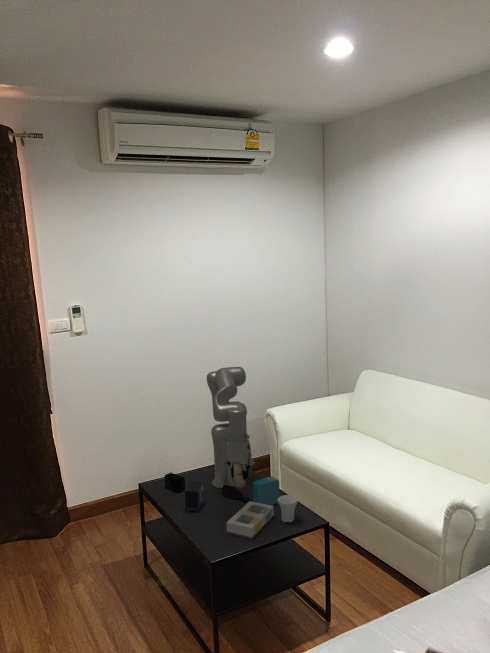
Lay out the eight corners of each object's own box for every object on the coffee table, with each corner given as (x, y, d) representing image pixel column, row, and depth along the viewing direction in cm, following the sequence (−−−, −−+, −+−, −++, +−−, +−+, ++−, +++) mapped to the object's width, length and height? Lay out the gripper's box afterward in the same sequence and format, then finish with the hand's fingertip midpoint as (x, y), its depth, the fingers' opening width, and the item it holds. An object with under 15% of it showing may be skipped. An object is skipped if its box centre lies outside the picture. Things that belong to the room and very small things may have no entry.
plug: (237, 481, 234) (236, 454, 232) (247, 483, 231) (246, 456, 230) (232, 486, 229) (230, 458, 228) (242, 488, 227) (241, 460, 225)
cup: (273, 518, 238) (273, 497, 237) (292, 513, 242) (291, 492, 241) (283, 527, 230) (282, 505, 229) (302, 522, 234) (301, 500, 233)
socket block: (250, 511, 246) (249, 500, 245) (274, 516, 240) (273, 505, 239) (226, 533, 227) (226, 521, 226) (252, 539, 221) (252, 527, 220)
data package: (274, 499, 257) (274, 475, 255) (279, 503, 253) (279, 478, 251) (253, 505, 251) (252, 481, 249) (258, 509, 247) (257, 484, 245)
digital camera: (163, 488, 273) (162, 475, 272) (171, 485, 277) (170, 472, 276) (177, 494, 266) (176, 480, 265) (185, 490, 270) (184, 477, 269)
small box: (198, 512, 246) (197, 491, 245) (184, 511, 248) (183, 490, 246) (204, 502, 257) (203, 481, 255) (191, 501, 258) (190, 480, 256)
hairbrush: (249, 505, 246) (217, 485, 265) (249, 513, 247) (217, 492, 266) (263, 500, 251) (231, 481, 270) (263, 507, 252) (231, 488, 271)
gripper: (259, 436, 227) (261, 477, 229) (225, 431, 235) (227, 471, 237) (251, 442, 220) (253, 484, 223) (216, 436, 228) (218, 477, 231)
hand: (239, 477), depth 230 cm, fingers closed on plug, 4 cm apart
